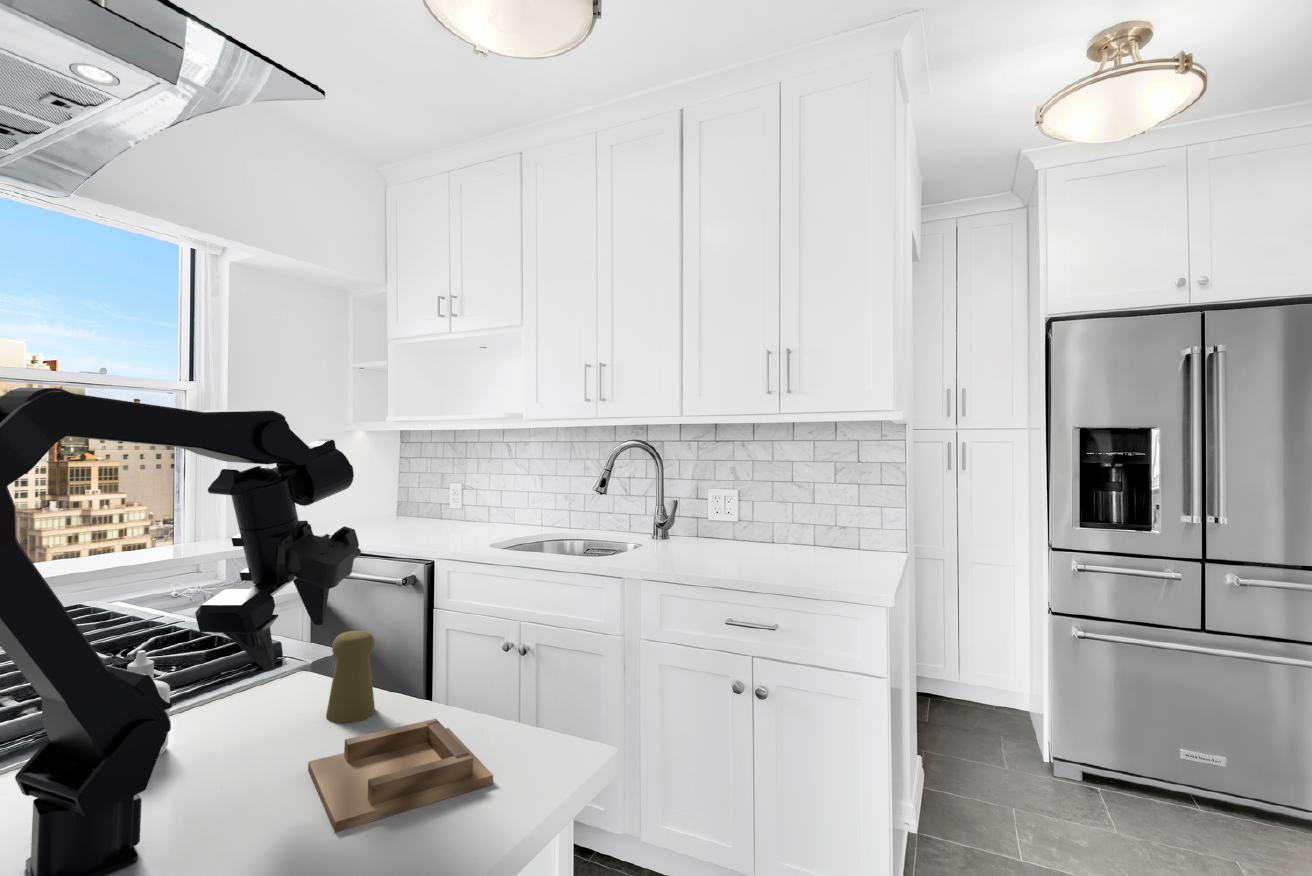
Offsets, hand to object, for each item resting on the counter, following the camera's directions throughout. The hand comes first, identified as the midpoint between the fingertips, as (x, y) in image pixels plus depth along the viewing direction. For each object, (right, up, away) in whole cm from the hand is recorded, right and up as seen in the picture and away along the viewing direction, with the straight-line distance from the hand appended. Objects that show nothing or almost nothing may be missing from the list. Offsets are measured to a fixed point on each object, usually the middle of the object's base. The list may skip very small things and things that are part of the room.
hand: (295, 645), depth 76 cm
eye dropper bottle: (-18, -13, -1) cm, 22 cm away
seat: (+14, -14, -4) cm, 20 cm away
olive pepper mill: (+1, -13, +12) cm, 18 cm away
